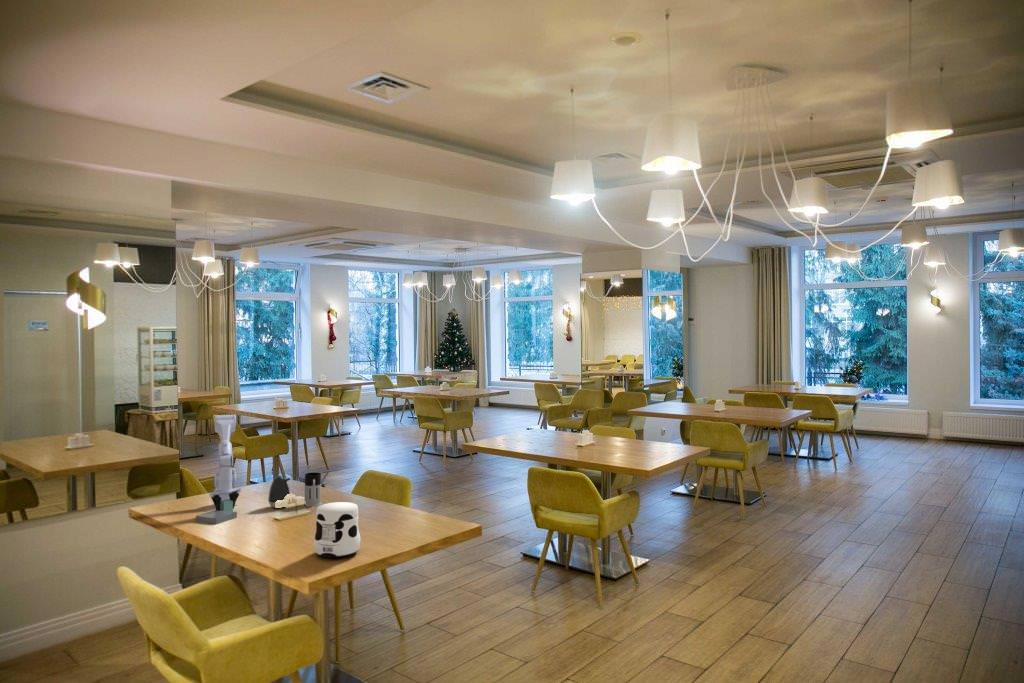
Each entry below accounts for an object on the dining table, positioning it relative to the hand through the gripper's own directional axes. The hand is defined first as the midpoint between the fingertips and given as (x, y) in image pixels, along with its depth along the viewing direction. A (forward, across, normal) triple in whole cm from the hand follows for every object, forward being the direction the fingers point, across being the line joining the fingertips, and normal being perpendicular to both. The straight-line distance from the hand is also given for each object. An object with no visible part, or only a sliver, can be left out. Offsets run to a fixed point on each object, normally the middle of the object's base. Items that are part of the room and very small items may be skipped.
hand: (225, 509), depth 319 cm
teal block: (+2, 0, 0) cm, 2 cm away
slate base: (+2, -8, -6) cm, 10 cm away
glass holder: (+2, +34, -20) cm, 40 cm away
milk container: (+3, -6, -88) cm, 88 cm away
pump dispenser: (+2, +22, -10) cm, 25 cm away
